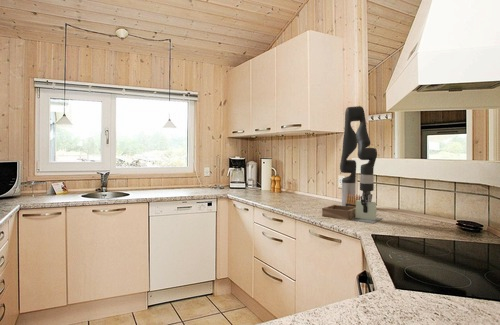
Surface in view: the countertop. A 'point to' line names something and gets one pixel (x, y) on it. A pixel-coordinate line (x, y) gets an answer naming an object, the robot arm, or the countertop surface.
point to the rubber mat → (366, 220)
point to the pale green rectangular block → (370, 211)
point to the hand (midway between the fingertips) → (366, 212)
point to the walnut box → (339, 212)
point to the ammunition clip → (352, 200)
